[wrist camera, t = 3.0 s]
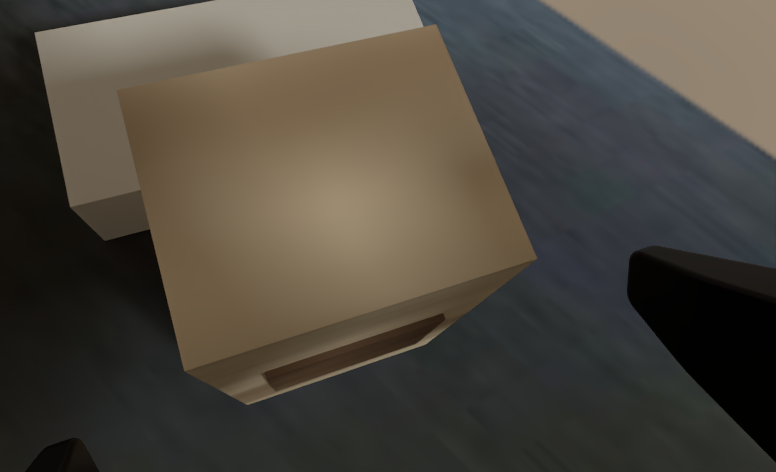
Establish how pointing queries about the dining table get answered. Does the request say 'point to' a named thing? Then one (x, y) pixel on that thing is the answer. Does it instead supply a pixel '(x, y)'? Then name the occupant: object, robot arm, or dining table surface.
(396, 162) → the birch block
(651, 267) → the robot arm
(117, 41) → the grey plinth
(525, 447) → the dining table surface
